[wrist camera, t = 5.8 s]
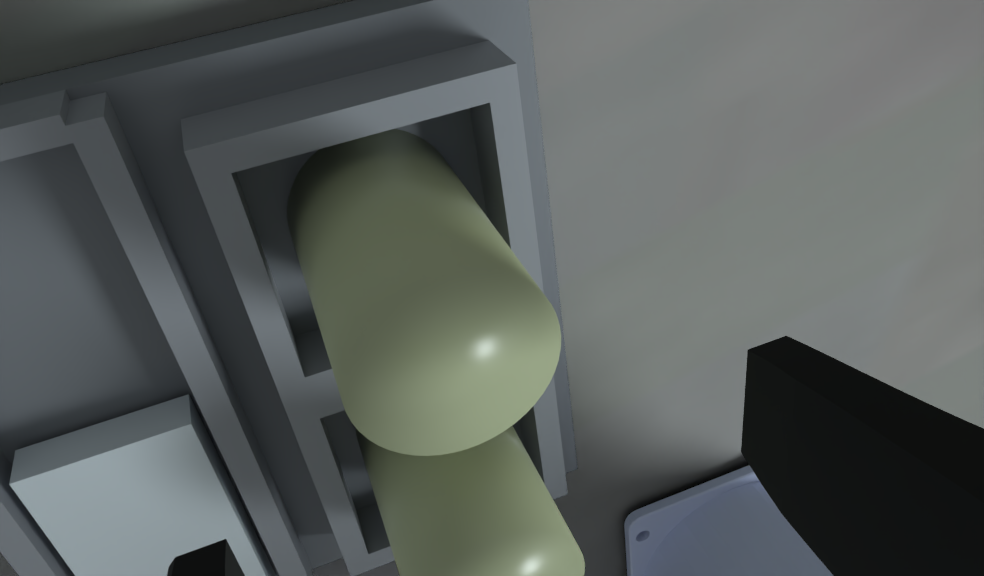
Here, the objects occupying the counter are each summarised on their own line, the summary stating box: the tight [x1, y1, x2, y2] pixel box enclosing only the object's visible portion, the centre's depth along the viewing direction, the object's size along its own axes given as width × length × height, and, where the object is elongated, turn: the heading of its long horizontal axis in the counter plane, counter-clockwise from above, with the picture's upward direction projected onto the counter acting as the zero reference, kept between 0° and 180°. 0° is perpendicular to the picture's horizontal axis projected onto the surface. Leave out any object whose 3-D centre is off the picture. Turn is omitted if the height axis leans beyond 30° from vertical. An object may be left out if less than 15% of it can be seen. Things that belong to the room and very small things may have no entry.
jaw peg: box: [287, 129, 561, 456], centre depth 15 cm, size 4×4×6 cm
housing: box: [0, 0, 585, 576], centre depth 17 cm, size 14×13×7 cm
